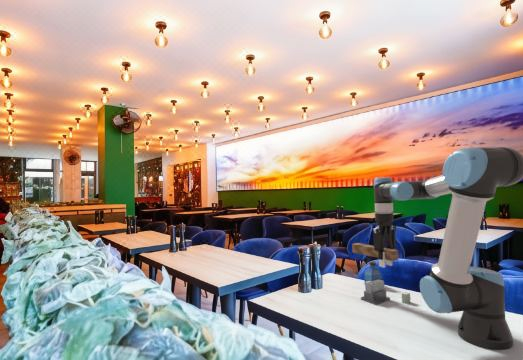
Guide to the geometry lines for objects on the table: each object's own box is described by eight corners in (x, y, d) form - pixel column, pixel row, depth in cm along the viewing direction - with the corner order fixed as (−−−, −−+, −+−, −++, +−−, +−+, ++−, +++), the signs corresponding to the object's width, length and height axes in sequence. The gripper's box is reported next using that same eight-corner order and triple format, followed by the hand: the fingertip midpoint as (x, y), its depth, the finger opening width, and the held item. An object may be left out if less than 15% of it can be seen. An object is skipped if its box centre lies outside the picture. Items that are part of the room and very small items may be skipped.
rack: (410, 302, 140) (410, 293, 140) (406, 303, 138) (405, 294, 138) (369, 288, 159) (369, 280, 159) (365, 290, 157) (365, 282, 157)
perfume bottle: (364, 284, 165) (363, 261, 165) (374, 283, 167) (373, 260, 167) (372, 288, 159) (371, 264, 159) (382, 287, 161) (381, 263, 161)
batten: (398, 259, 136) (398, 250, 136) (392, 261, 134) (392, 251, 134) (358, 251, 155) (357, 242, 155) (352, 252, 153) (352, 243, 153)
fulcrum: (390, 299, 143) (389, 282, 144) (375, 304, 138) (374, 286, 138) (375, 294, 150) (374, 277, 150) (360, 299, 145) (360, 281, 145)
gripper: (388, 210, 147) (390, 261, 147) (363, 213, 138) (365, 267, 138) (403, 211, 141) (405, 264, 141) (378, 214, 132) (380, 271, 132)
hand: (385, 265), depth 139 cm, fingers closed on batten, 4 cm apart
